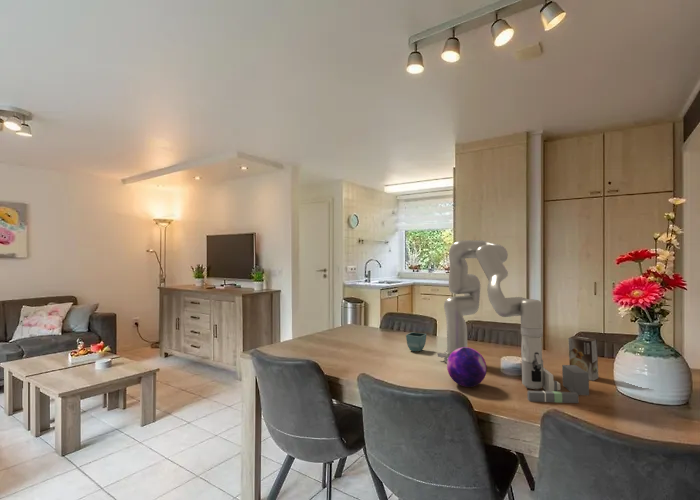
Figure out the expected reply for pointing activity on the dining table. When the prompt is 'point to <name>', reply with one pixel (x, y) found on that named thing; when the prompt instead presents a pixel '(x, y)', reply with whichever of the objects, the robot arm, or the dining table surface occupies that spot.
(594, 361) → the coffee box
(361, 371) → the dining table surface
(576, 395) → the frame
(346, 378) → the dining table surface
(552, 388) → the plate
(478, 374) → the decorative orb
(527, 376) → the can
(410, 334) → the flower pot
